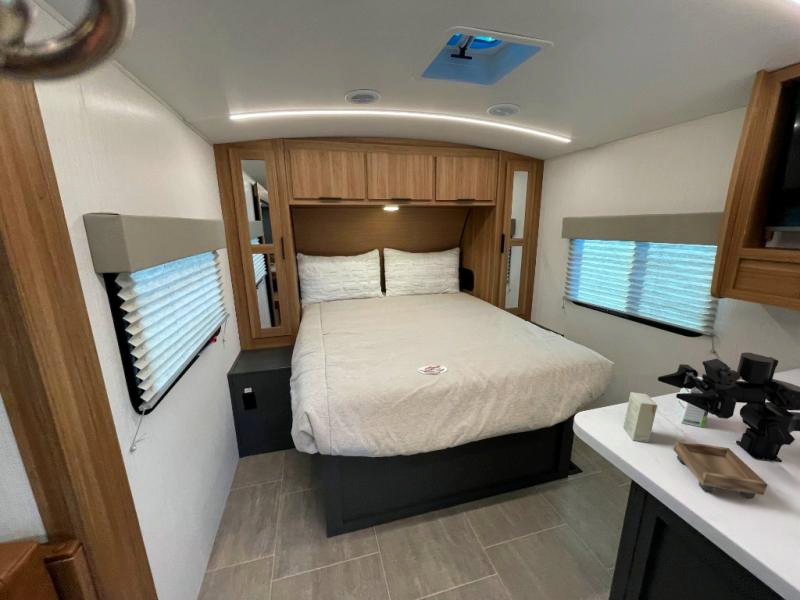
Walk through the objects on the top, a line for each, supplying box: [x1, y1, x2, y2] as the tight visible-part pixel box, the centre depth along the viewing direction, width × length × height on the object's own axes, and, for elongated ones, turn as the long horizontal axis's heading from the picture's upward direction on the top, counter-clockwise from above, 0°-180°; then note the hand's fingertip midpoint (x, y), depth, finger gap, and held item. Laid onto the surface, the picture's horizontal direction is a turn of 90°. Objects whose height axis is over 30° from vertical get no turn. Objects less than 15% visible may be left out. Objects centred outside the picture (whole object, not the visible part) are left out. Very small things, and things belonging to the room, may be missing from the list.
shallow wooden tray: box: [673, 440, 769, 500], centre depth 78 cm, size 12×12×5 cm
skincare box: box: [622, 391, 658, 443], centre depth 93 cm, size 6×4×12 cm
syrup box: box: [674, 376, 709, 428], centre depth 99 cm, size 6×6×14 cm
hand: (666, 386), depth 89 cm, fingers open, 9 cm apart
